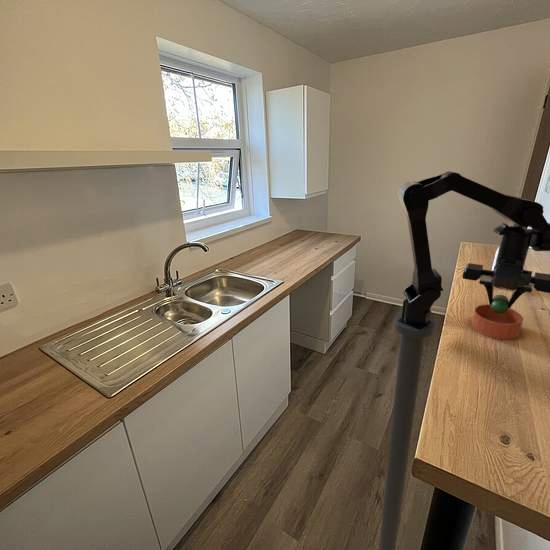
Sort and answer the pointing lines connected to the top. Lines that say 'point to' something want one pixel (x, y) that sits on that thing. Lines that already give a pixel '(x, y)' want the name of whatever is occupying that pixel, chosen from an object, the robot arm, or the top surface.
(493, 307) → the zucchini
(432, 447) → the top surface
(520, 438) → the top surface
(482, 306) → the bowl
